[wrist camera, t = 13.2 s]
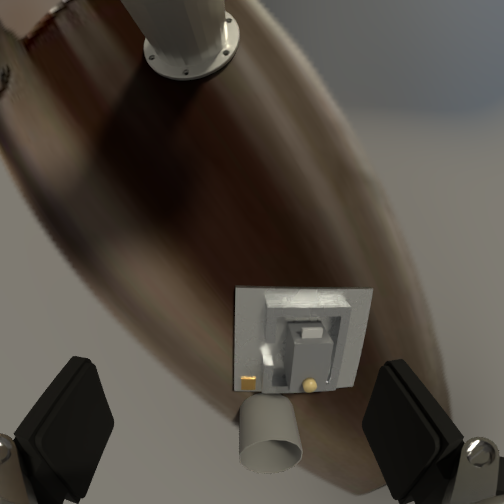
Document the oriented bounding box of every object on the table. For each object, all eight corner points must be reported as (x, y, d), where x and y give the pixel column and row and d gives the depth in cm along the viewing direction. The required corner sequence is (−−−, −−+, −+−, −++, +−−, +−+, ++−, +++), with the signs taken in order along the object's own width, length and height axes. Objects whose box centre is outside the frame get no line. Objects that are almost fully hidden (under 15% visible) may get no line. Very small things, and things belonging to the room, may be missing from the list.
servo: (288, 314, 36) (297, 340, 29) (322, 313, 36) (337, 338, 30) (282, 372, 38) (289, 404, 31) (313, 371, 38) (325, 402, 31)
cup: (299, 395, 40) (311, 441, 30) (284, 430, 42) (292, 474, 32) (244, 388, 39) (245, 436, 30) (234, 424, 41) (233, 470, 31)
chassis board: (235, 285, 36) (235, 294, 33) (370, 286, 37) (380, 294, 34) (234, 387, 39) (233, 401, 36) (351, 383, 40) (357, 395, 37)
